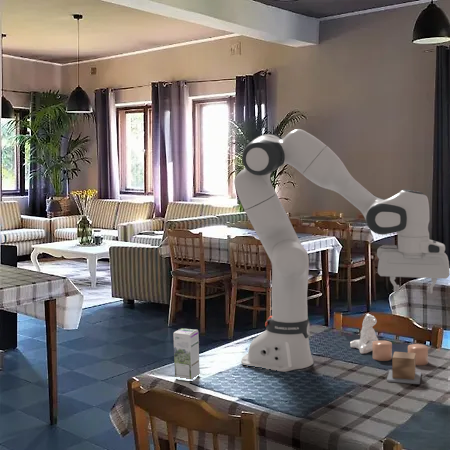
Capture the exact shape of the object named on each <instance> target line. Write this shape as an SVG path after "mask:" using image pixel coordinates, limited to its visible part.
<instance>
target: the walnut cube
mask: <svg viewBox="0 0 450 450" xmlns="http://www.w3.org/2000/svg"><path fill="white" fill-rule="evenodd" d="M391 360H392V366H391V368H392V369H391V370H392V378H401V379H413V380H414V378H415V372H416V365H415V360H416V353H408V351H407V352H405V351H393V353H392V359H391Z"/></svg>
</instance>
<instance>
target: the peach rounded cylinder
mask: <svg viewBox="0 0 450 450" xmlns="http://www.w3.org/2000/svg"><path fill="white" fill-rule="evenodd" d="M407 352H408V353H416V360H415V366H425V365H426V366H427V365H428V363H429V347H428V346H427V345H425V344H421V343H414V344H413V343H412V344H409V345H407Z"/></svg>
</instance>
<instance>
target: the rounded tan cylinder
mask: <svg viewBox="0 0 450 450" xmlns="http://www.w3.org/2000/svg"><path fill="white" fill-rule="evenodd" d="M372 349H373V351H372V359H373V360H375V361H378V362H379V361H380V362H388V361H391V360H392V357H393V343H392V342H391V341H389V340H381V339H380V340H379V339H378V340H377V341H373V342H372Z"/></svg>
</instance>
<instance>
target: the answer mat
mask: <svg viewBox="0 0 450 450" xmlns="http://www.w3.org/2000/svg"><path fill="white" fill-rule="evenodd" d="M421 377H422V372H421V371H415V378H414V380H413V379H401V378H392V369H389V371H388V374H387V377H386V382H388V383H389V382H390V383H398V384H399V383H401V384H411V385H412V384H413V385H420V383H421Z"/></svg>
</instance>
